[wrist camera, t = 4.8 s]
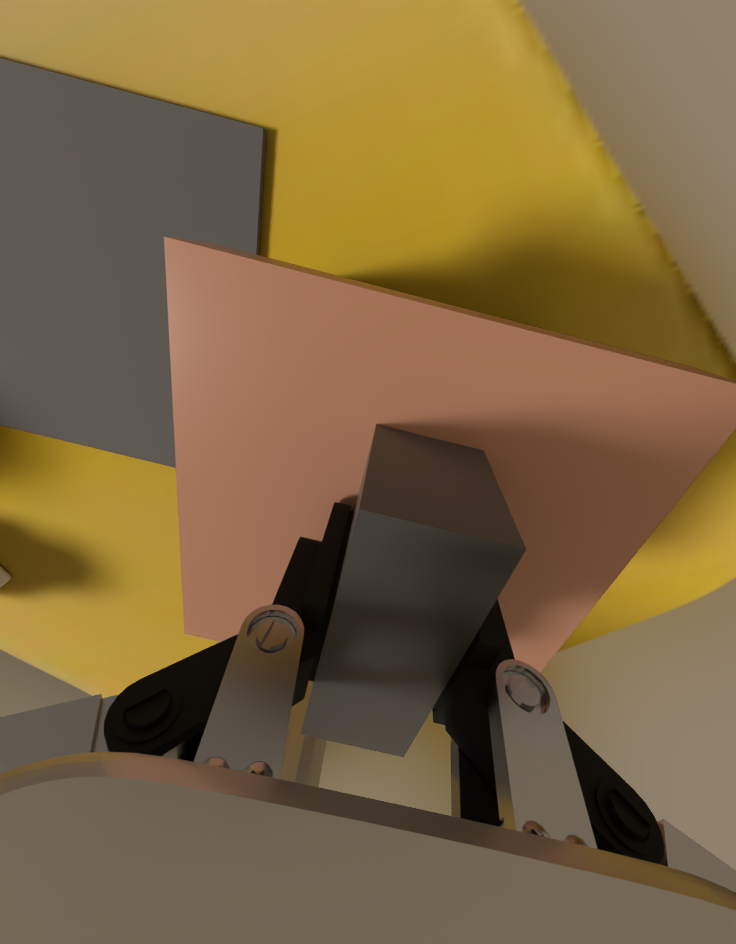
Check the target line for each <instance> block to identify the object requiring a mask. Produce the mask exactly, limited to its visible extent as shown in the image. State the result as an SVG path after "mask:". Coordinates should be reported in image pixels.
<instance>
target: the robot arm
mask: <svg viewBox="0 0 736 944" xmlns="http://www.w3.org/2000/svg"><path fill="white" fill-rule="evenodd" d="M350 507H351V506H350V505H346V504H342V503H337V502H334V505H333V508H332V511H331V514H330V517H329V520H328V524H327V527H326V530H325V533H324V536H323V539H322V541H318V540H313V539H309V538H305V537H301V536H300V538H299V540H298V542H297V544H296V547H295V549H294V552H293V554H292V557H291V559H290V562H289V564H288V566H287V569H286V571H285V574H284V576H283V579H282V581H281V584H280V586H279V588H278V591H277V593H276V596H275V598H274V601H273V603H272V605H267V606H262V607H260V608H258V609H256V610H254V611H252V612H251V613H250V614H249V615H248V616H247V617H246V618H245V620H244V622H243V623H242V625H241V628H240V631H239V634H237V635H235V636H232V637H230V638H228V639H226V640H224V641H222V642H220V641H217V644H215V645H213V646H211V647H209V648H207V649H204V650H202V651H200V652H198V653H196V654H194V655H191V656H189V657H187V658H185V659H183V660H181V661H179V662H176V663H174V664H172V665H170V666H168V667H166V668H163V669H161V670H159V671H157V672H155V673H153V674H150V675H148V676H146V677H144V678H142V679H140V680H138V681H136V682H135V683H133V684H131V685H130V686H128V687H127V688H126V689H125V690H124V691H123V692H122V693H120V694H119V695H115V696H111V697H107V698H102V695H101V694H99V695H95V696H90V697H86V698H82V699H77V700H73V701H69V702H64V703H60V704H56V705H51V706H47V707H43V708H39V709H34V710H30V711H26V712H21V713H17V714H13V715H8V716H5V717H0V944H736V871H735V870H734V869H733V868H731V867H730V866H729V865H727V864H726V863H724V862H723V861H721V860H720V859H719V858H717V857H716V856H714V855H713V854H711V853H710V852H709V851H707V850H706V849H705V848H703V847H702V846H700V845H699V844H698V843H696V842H695V841H693V840H692V839H691V838H689V837H688V836H686V835H685V834H684V833H682V832H681V831H679V830H678V829H677V828H675V827H674V826H672V825H671V824H670V823H668V822H667V821H665V820H664V819H662V820H661V821H659V822H658V821H656V819H655V817H654V815H653V814H652V812H651V811H650V809H649V808H648V806H647V805H646V803H645V802H644V801H643V799H642V798H641V797H639V795H638V794H637V793H636V792H635V790H634V789H633V788H632V787H630V786H629V785H628V784H627V783H626V782H625V781H624V780H623V779H622V778H621V777H620V776H619V775H618V774H617V773H616V772H615V771H614V770H613V769H612V768H611V767H610V766H609V765H607V763H606V762H605V761H603V760H602V758H601V757H599V755H597V754H596V753H595V752H594V751H593V750H592V749H591V748H590V747H589V746H588V745H587V744H586V743H585V742H584V741H583V740H582V739H581V738H580V737H579V736H578V735H577V734H576V733H575V732H574V731H573V730H571V728H570V727H568V725H566V724H565V723H564V722H563V721H562V718H561V714H560V711H559V707H558V703H557V699H556V696H555V694H554V692H553V689H552V687H551V686H550V685H549V683H548V681H547V680H546V679H545V678H544V677H543V676H542V675H541V674H540V673H539V672H538V671H537V670H536V669H535V668H533V667H532V666H530V665H529V664H527V663H524V662H522V661H519V660H515V658H514V654H513V651H512V647H511V644H510V640H509V637H508V633H507V630H506V626H505V623H504V619H503V616H502V612H501V609H500V605H499V602H498V598H497V600H496V602H495V603H494V605H493V607H492V609H491V610H490V612H489V614H488V615H487V617H486V619H485V620H484V622H483V624H482V625H481V627H480V629H479V630H478V632H477V634H476V636H475V637H474V639H473V641H472V642H471V644H470V646H469V647H468V649H467V651H466V652H465V654H464V656H463V658H462V659H461V661H460V663H459V664H458V666H457V668H456V669H455V671H454V673H453V674H452V676H451V678H450V679H449V681H448V683H447V685H446V686H445V688H444V690H443V691H442V693H441V695H440V696H439V698H438V700H437V701H436V703H435V705H434V707H433V708H432V709H433V722H434V723H439V724H443V725H445V726H446V731H447V732H448V734H449V735H450V736H451V803H452V816H448V815H443V814H438V813H434V812H429V811H425V810H420V809H416V808H411V807H407V806H402V805H397V804H392V803H388V802H384V801H379V800H374V799H370V798H365V797H360V796H356V795H351V794H347V793H342V792H337V791H333V790H328V789H323V788H319V781H320V776H321V771H322V765H323V759H324V753H325V748H326V741H327V740H324V739H320V738H316V737H311V736H307V735H302V734H300V733H301V729H302V725H303V720H304V716H305V712H306V707H307V703H308V699H309V694H310V690H311V686H312V681H313V682H314V680H315V676H316V672H317V668H318V664H319V660H320V657H321V653H322V649H323V645H324V641H325V637H326V633H327V630H328V626H329V622H330V618H331V614H332V610H333V606H334V602H335V597H336V593H337V588H338V583H339V579H340V574H341V570H342V565H343V561H344V556H345V552H346V547H347V543H348V538H349V533H350V529H351V524H352V520H353V515H354V511H351V510H350Z"/></svg>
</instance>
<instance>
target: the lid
mask: <svg viewBox="0 0 736 944" xmlns="http://www.w3.org/2000/svg"><path fill="white" fill-rule="evenodd" d="M164 248H165V267H166V286H167V305H168V324H169V344H170V363H171V382H172V401H173V420H174V439H175V458H176V477H177V496H178V515H179V534H180V553H181V572H182V591H183V610H184V629H185V634H189V635H194V636H198V637H202V638H207V639H211V640H216V641H220V642H222V641H224V640H226V639H228V638H230V637H232V636H235V635H237V634H239V631H240V628H241V625H242V623H243V622H244V620H245V618H246V617H247V616H248V615H249V614H250V613H251V612H252V611H254V610H256V609H258V608H260V607H262V606H267V605H272V603H273V601H274V598H275V596H276V593H277V591H278V588H279V586H280V584H281V581H282V579H283V576H284V574H285V571H286V569H287V566H288V564H289V562H290V559H291V557H292V554H293V552H294V549H295V547H296V544H297V542H298V540H299V538H300V536H301V537H305V538H309V539H313V540H318V541H322V539H323V536H324V533H325V530H326V527H327V524H328V520H329V517H330V514H331V511H332V508H333V505H334V502H337V503H342V504H346V505H350V506H351V507H350V510H351V511H354V515H353V520H352V524H351V529H350V533H349V538H348V543H347V547H346V552H345V556H344V561H343V565H342V570H341V574H340V579H339V583H338V588H337V593H336V597H335V602H334V606H333V610H332V614H331V618H330V622H329V626H328V630H327V633H326V637H325V641H324V645H323V649H322V653H321V657H320V660H319V664H318V668H317V672H316V676H315V680H314V682H313V681H312V686H311V690H310V694H309V699H308V703H307V707H306V712H305V716H304V720H303V725H302V729H301V733H300V734H302V735H307V736H311V737H316V738H320V739H324V740H329V741H334V742H338V743H343V744H347V745H351V746H356V747H361V748H365V749H369V750H374V751H378V752H383V753H388V754H392V755H397V756H401V757H404V756H405V754H406V752H407V750H408V749H409V747H410V745H411V744H412V742H413V740H414V739H415V737H416V735H417V734H418V732H419V730H420V728H421V727H422V725H423V723H424V722H425V720H426V718H427V717H428V715H429V713H430V712H431V710H432V708H433V707H434V705H435V703H436V701H437V700H438V698H439V696H440V695H441V693H442V691H443V690H444V688H445V686H446V685H447V683H448V681H449V679H450V678H451V676H452V674H453V673H454V671H455V669H456V668H457V666H458V664H459V663H460V661H461V659H462V658H463V656H464V654H465V652H466V651H467V649H468V647H469V646H470V644H471V642H472V641H473V639H474V637H475V636H476V634H477V632H478V630H479V629H480V627H481V625H482V624H483V622H484V620H485V619H486V617H487V615H488V614H489V612H490V610H491V609H492V607H493V605H494V603H495V602H496V600H497V598H498V602H499V605H500V609H501V612H502V616H503V619H504V623H505V626H506V630H507V633H508V637H509V640H510V644H511V647H512V651H513V654H514V658H515V660H519V661H522V662H524V663H527V664H529V665H530V666H532V667H533V668H535V669H536V670H537V671H538V672H539V673H541V671H542V670H543V669H544V667H545V666H546V665H547V664H548V663H549V661H550V660H551V659H552V658H553V656H554V655H555V654H556V653H557V651H558V650H559V649H560V648H561V646H562V645H563V644H564V643H565V641H566V640H567V639H568V638H569V636H570V635H571V634H572V633H573V631H574V630H575V629H576V628H577V626H578V625H579V624H580V623H581V621H582V620H583V619H584V618H585V616H586V615H587V614H588V613H589V611H590V610H591V609H592V608H593V606H594V605H595V604H596V603H597V601H598V600H599V599H600V598H601V596H602V595H603V594H604V593H605V591H606V590H607V589H608V588H609V586H610V585H611V584H612V583H613V581H614V580H615V579H616V578H617V576H618V575H619V574H620V573H621V571H622V570H623V569H624V568H625V567H626V565H627V564H628V563H629V562H630V560H631V559H632V558H633V557H634V555H635V554H636V553H637V552H638V550H639V549H640V548H641V547H642V545H643V544H644V543H645V542H646V540H647V539H648V538H649V537H650V535H651V534H652V533H653V532H654V530H655V529H656V528H657V527H658V525H659V524H660V523H661V522H662V520H663V519H664V518H665V517H666V515H667V514H668V513H669V512H670V510H671V509H672V508H673V507H674V505H675V504H676V503H677V502H678V500H679V499H680V498H681V497H682V495H683V494H684V493H685V492H686V490H687V489H688V488H689V487H690V485H691V484H692V483H693V482H694V480H695V479H696V478H697V477H698V475H699V474H700V473H701V472H702V470H703V469H704V468H705V467H706V465H707V464H708V463H709V462H710V460H711V459H712V458H713V457H714V455H715V454H716V453H717V452H718V450H719V449H720V448H721V447H722V445H723V444H724V443H725V442H726V440H727V439H728V438H729V437H730V435H731V434H732V433H733V432H734V431H735V429H736V381H733V380H730V379H727V378H724V377H720V376H717V375H714V374H711V373H708V372H705V371H702V370H699V369H696V368H693V367H690V366H686V365H682V364H678V363H674V362H670V361H667V360H663V359H659V358H655V357H651V356H647V355H643V354H639V353H636V352H632V351H628V350H624V349H620V348H616V347H612V346H608V345H605V344H601V343H597V342H593V341H589V340H585V339H581V338H577V337H574V336H570V335H566V334H562V333H558V332H554V331H550V330H546V329H543V328H539V327H535V326H531V325H527V324H523V323H519V322H515V321H512V320H508V319H504V318H500V317H496V316H492V315H488V314H484V313H480V312H477V311H473V310H469V309H465V308H461V307H457V306H453V305H449V304H446V303H442V302H438V301H434V300H430V299H426V298H422V297H418V296H415V295H411V294H407V293H403V292H399V291H395V290H391V289H387V288H384V287H380V286H376V285H372V284H368V283H364V282H360V281H356V280H353V279H349V278H345V277H341V276H337V275H333V274H329V273H325V272H322V271H318V270H314V269H310V268H306V267H302V266H298V265H294V264H290V263H287V262H283V261H279V260H275V259H271V258H267V257H263V256H259V255H256V254H252V253H248V252H244V251H240V250H236V249H232V248H228V247H225V246H221V245H217V244H211V243H204V242H197V241H191V240H184V239H177V238H171V237H164Z"/></svg>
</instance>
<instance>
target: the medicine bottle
mask: <svg viewBox="0 0 736 944" xmlns="http://www.w3.org/2000/svg"><path fill="white" fill-rule="evenodd" d="M10 579H11V575H10V574H8V573H7V572H6V571H5V570H4V569H3V568H2V567H1V566H0V587H2V586H3V585H4V584H5V583H7V582H8V581H9V580H10Z"/></svg>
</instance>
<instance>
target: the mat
mask: <svg viewBox="0 0 736 944" xmlns="http://www.w3.org/2000/svg"><path fill="white" fill-rule="evenodd" d="M265 148H266V130H265V129H264V128H261V127H257V126H253V125H250V124H246V123H242V122H238V121H235V120H231V119H227V118H223V117H220V116H216V115H212V114H208V113H205V112H201V111H197V110H193V109H190V108H186V107H182V106H178V105H175V104H171V103H167V102H163V101H160V100H156V99H152V98H148V97H145V96H141V95H137V94H133V93H130V92H126V91H122V90H118V89H115V88H111V87H107V86H103V85H100V84H96V83H92V82H88V81H85V80H81V79H77V78H73V77H70V76H66V75H62V74H58V73H55V72H51V71H47V70H44V69H40V68H36V67H32V66H29V65H25V64H21V63H17V62H14V61H10V60H6V59H2V58H0V425H2V426H6V427H10V428H14V429H18V430H22V431H26V432H31V433H35V434H39V435H43V436H47V437H51V438H55V439H60V440H64V441H68V442H72V443H76V444H80V445H84V446H88V447H93V448H97V449H101V450H105V451H109V452H113V453H117V454H121V455H126V456H130V457H134V458H138V459H142V460H146V461H150V462H154V463H159V464H163V465H167V466H171V467H175V468H176V458H175V439H174V420H173V401H172V382H171V363H170V344H169V324H168V305H167V286H166V267H165V248H164V237H171V238H177V239H184V240H191V241H197V242H204V243H211V244H217V245H221V246H225V247H228V248H232V249H236V250H240V251H244V252H248V253H252V254H256V255H259V249H260V232H261V216H262V199H263V182H264V165H265Z"/></svg>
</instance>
